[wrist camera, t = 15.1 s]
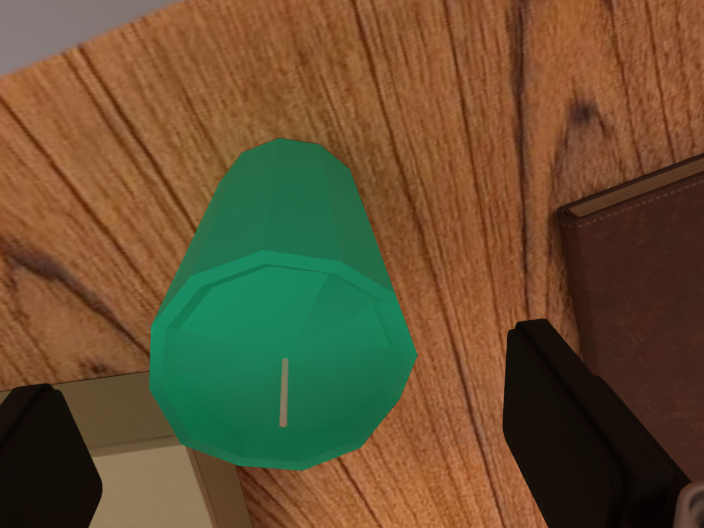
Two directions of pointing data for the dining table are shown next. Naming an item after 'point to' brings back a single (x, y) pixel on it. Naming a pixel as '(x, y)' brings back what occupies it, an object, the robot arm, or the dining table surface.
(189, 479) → the beige rectangular block
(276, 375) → the candle
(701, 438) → the notebook
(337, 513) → the dining table surface
